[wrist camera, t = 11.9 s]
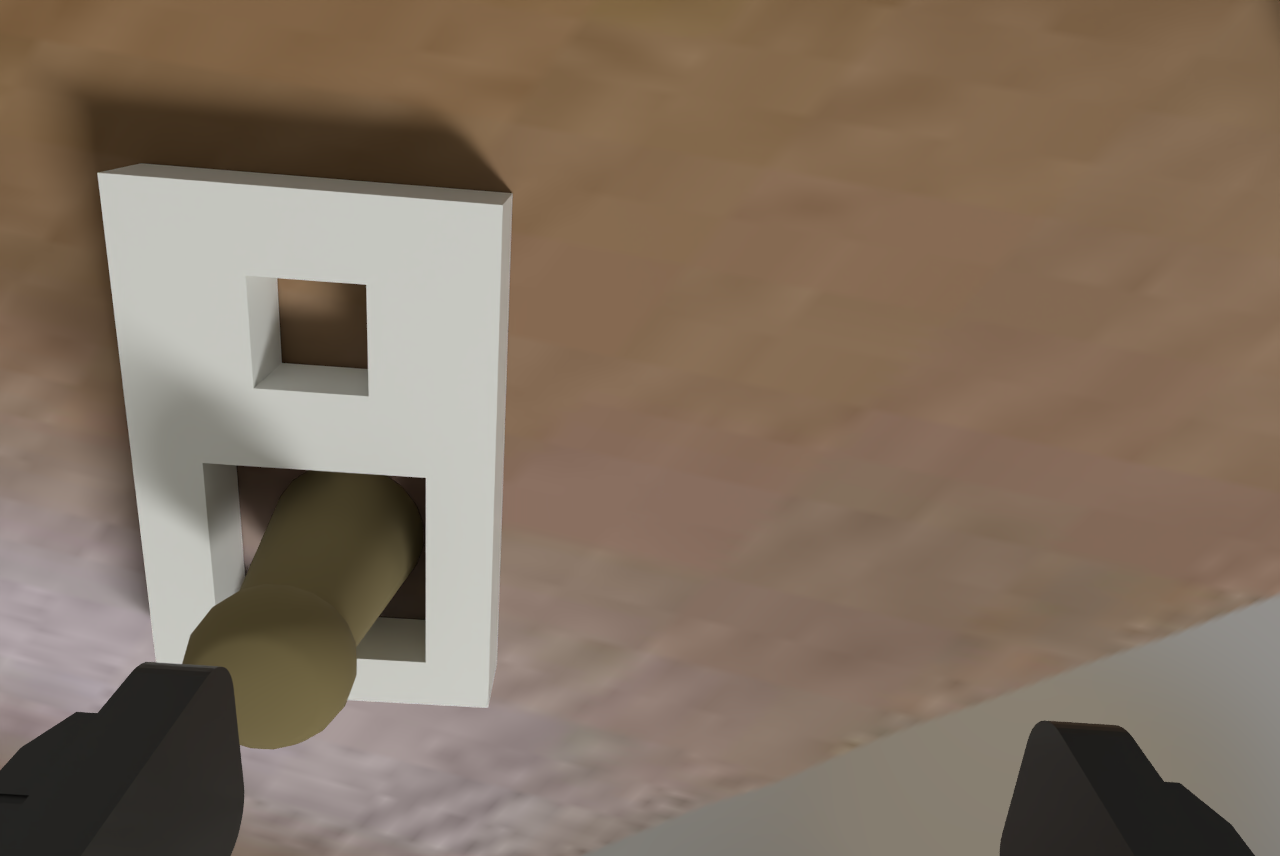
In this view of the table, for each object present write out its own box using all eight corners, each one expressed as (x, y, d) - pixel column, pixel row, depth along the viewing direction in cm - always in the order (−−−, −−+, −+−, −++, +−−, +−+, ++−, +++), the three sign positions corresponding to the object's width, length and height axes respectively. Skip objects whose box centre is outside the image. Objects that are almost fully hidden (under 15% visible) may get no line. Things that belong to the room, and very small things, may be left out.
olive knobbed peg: (242, 524, 38) (105, 693, 28) (345, 433, 37) (241, 575, 27) (352, 621, 40) (261, 812, 30) (454, 537, 39) (395, 708, 29)
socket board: (512, 193, 34) (502, 205, 31) (497, 663, 41) (488, 707, 38) (141, 163, 33) (97, 172, 31) (191, 646, 40) (159, 689, 38)
